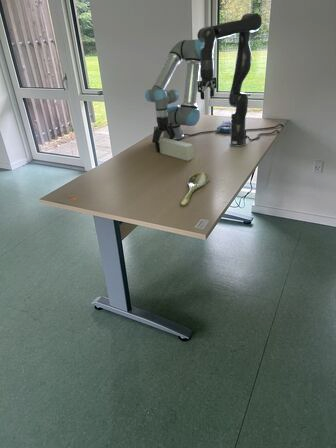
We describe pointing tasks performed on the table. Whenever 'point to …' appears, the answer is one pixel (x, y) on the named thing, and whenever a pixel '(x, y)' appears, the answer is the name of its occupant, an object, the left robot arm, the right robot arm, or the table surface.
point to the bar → (176, 149)
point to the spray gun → (225, 127)
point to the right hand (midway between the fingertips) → (207, 97)
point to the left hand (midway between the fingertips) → (165, 149)
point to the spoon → (195, 184)
